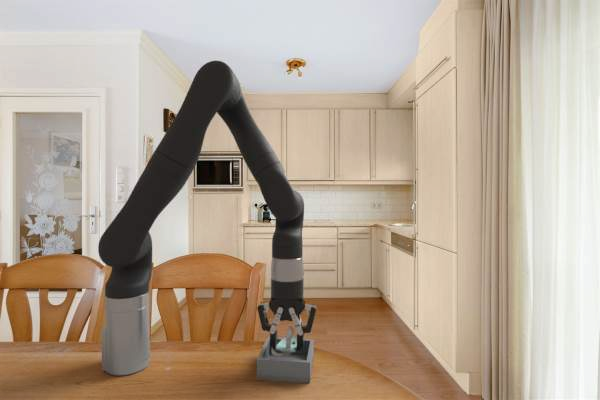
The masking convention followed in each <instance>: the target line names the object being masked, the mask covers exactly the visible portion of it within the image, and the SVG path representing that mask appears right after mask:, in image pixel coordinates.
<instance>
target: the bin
mask: <svg viewBox="0 0 600 400" xmlns="http://www.w3.org/2000/svg"><path fill="white" fill-rule="evenodd" d="M284 338H285V337H277V344H278V343H279V342H280V341H281V340H282V339H284ZM314 340H315V339H310V338H308V339H307V338H304V344H303V347H302V348H300V351H297V348H296V349H295V350H296V351H295V352H292V354H291V355H288V356H285V355H284V356H280V357H277V356H274V355H273V354H272V353H271V350H272V348H273V347H271V345H270V336H269V337H266V339H265V341H264V344H263V346H262V348H261V350H260V352H259V353H258V356H257V359H256V380H257V381H268V382H269V381H270V382H272V381H273V382H275V381H276V382H286V383H288V382H289V383H303V384H304V383H305V384H310V383H311V380H312V379H311V378H312V371H313V364H314V358H315V357H314V356H315V355H314V354H315V349H314V348H315V347H314V346H315V341H314ZM292 344H295V343H292ZM275 352H277V353H282V351H279V350H275Z"/></svg>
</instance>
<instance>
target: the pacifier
mask: <svg viewBox="0 0 600 400" xmlns="http://www.w3.org/2000/svg"><path fill="white" fill-rule="evenodd" d="M294 333H295V330H294V327H293V326H292V325H289V327H288V328H287V331H286V335H285V337H283V338H284V339H282V340H281V341H280V342H279V343H278V344H277V346H276V350H279V351H282V353H277V352H275V349H273V348H272V350H271V353H272V354H273V355H274V356H277V357H280V356H284V355H285V356H288V355H291V354H292V352H295V351H296V350H295V349H296V348H297V336H296V337H295V336H294ZM292 343H295V344H292Z"/></svg>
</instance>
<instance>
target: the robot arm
mask: <svg viewBox="0 0 600 400" xmlns="http://www.w3.org/2000/svg"><path fill="white" fill-rule="evenodd" d="M216 114H218V116H219V117H220V118H221V119H222V121H223V122H224V123H225V125H226V126H227V128H228V129H229V131H230V133H231V135H232V137H233V139H234V141H235V143H236V145H237V148H238V150H239V152H240V155H241V156H242V159H243V160H244V162H245V164H246V166H247V168H248V170H249V172H250V173H251V175H252V177H253V179H254V180H255V182H256V183H257V184H258V187H259V189H260V192H261V195H262V197H263V200H264V202H265V203H266V206H267V208H268V210H269V211H270V213H271V214H272V216H273V217H274V218H275V225H274V226H275V229H274V232H273V235H272V240H271V262H270V263H271V265H270V300H269V301H268V302H262V301H261V302H260V303H259V304H258V306H257V308H256V309H257V312H258V317H259V322H260V325H261V329H262V331H264V332H269V337H270V345H271V347H273V349H275V350H276V346H277V338H278V330H277V328H278V326H279V323H280V322H283V321H284V322H285V321H288V322H293V326H294V327H295V329H296V332H297V333H296V338H297V351H300V348H302V347H303V344H304V339H305V338H304V335H305V334H310V333H311V331H312V329H313V323H314V319H315V316H316V312H317V308H318V307H317V305H316V304H309V303H306V301H305V299H304V274H305V271H304V260H303V229H304V218H305V203H304V199H303V196H302V194H301V193H300V192H298V191H296V190H294V188H293V187H292V184H291V183H290V181H289V180H288V178H287V176H286V174H285V173H286V172H285V169H284V167H283V165H282V163H281V161H280V160H279V157H278V155H277V154H276V153H275V151H274V149H273V147H272V146H271V144H270V143H269V141H268V140H267V139H268V138H266V136H265V135H264V134H263V132H262V130H261V129H260V128H259V126H258V125H257V123H256V121H255V120H254V118H253V115H252V113H251V112H250V110H249V107H248V105H247V102H246V100H245V96H244V93H243V92H242V88H241V84H240V81H239V79H238V78H237V76H236V74H235V72H234V71H233V70H232V68H231V67H230V66H229V65H228V64H227V63H226V62H224V61H222V60H211V61H208V62H206V63H205V64H203V65H202V66H201V67H200V68H199V69H198V71H197V72H196V74H195V75H194V78H193V80H192V82H191V84H190V86H189V89H188V91H187V93H186V95H185V97H184V100H183V102H182V104H181V106H180V108H179V110H178V112H177V114H176V116H174V118H173V120H172V122H171V123H170V125H169V127H168V128H167V131H166V132H165V134H164V135H163V137H162V139H161V140H160V142H159V143H158V145H157V146H156V147H155V150H154V152H153V153H152V154H151V156H150V158H149V160H148V162H147V164H146V166H145V167H144V170H143V172H142V173H141V175H140V176H139V178H138V180H137V182H136V184H135V185H134V187H133V189H132V190H131V193H130V194H129V197H128V198H127V199H126V201H125V203H124V204H123V207H122V208H121V209H120V211H119V212H118V214H116V216H115V218H114V219H113V220H112V221H111V223H110V224H109V225H108V227H107V228H106V229H105V231H104V232H103V234H102V235H101V236H100V239H99V241H98V247H97V248H98V255H99V259H100V260H101V261H102V262H103V264H105V265H106V266H108V267H111V270H110V275H109V276H108V279H107V281H106V282H105V285H104V301H105V302H104V305H105V306H104V308H105V326H104V327H103V328H102V329H101V335H100V336H101V371H103V372H106V373H107V374H109V375H111V376H128V375H132V374H135V373H139V372H141V371H142V370H145V369H146V368H147V367H148V366H149V365H150V363H151V361H150V360H151V356H150V355H151V351H150V349H151V348H150V345H151V344H150V343H151V342H150V341H151V338H150V337H151V336H150V335H151V334H150V283H151V282H150V281H151V278H152V275H153V274H152V271H153V240H152V236H151V234H150V230H151V228H152V227H153V224H154V223H155V221H156V219H157V218H158V217H159V215H161V213H162V212H163V211H164V209H165V208H166V207H168V205H169V204H170V203H172V201H173V200H174V199H175V197H176V196H177V195H178V194H179V193H180V191H181V190H183V188H184V186H185V184H186V183H187V182H188V180H189V178H190V176H191V175H192V173H193V171H194V169H195V168H196V166H197V163H198V162H199V161H198V160H199V158H200V155H201V153H202V152H201V151H202V150H203V149H202V148H203V145H204V140H205V136H206V133H207V129H208V128H209V126H210V124H211V122H212V120H213V119H214V118H215V115H216ZM269 309H270V311H271V312H272V314H273V315H274V319H273V321H272V324H271V323H270V322H269V317H268V311H269ZM304 310H305V311H306V312H305V313H306V314H307V315H308V317H307V319H308V320H307V323H306V325H304V324H303V320H302V317H301V314H302V312H303V311H304Z"/></svg>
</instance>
